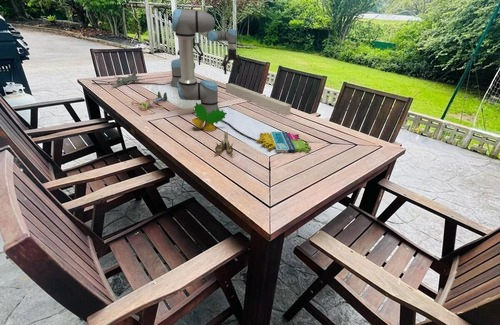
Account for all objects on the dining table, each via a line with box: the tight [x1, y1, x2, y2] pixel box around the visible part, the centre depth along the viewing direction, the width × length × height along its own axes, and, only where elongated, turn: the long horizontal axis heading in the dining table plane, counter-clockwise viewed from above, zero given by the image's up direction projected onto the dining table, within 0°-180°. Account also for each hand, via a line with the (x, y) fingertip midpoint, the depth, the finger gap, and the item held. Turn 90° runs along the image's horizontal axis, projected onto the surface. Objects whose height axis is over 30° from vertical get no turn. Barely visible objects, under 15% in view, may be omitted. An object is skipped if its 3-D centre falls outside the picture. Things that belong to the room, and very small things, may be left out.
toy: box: [130, 91, 168, 111], centre depth 196 cm, size 28×7×30 cm
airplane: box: [110, 68, 145, 89], centre depth 248 cm, size 38×31×10 cm
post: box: [225, 82, 292, 116], centre depth 222 cm, size 77×6×7 cm, turn 39°
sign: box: [255, 131, 312, 154], centre depth 152 cm, size 26×2×30 cm
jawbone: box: [214, 131, 234, 156], centre depth 136 cm, size 9×15×10 cm
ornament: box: [191, 102, 228, 132], centre depth 162 cm, size 21×8×15 cm, turn 105°
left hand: (231, 73), depth 241 cm, fingers open, 13 cm apart
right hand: (191, 64), depth 210 cm, fingers open, 13 cm apart
